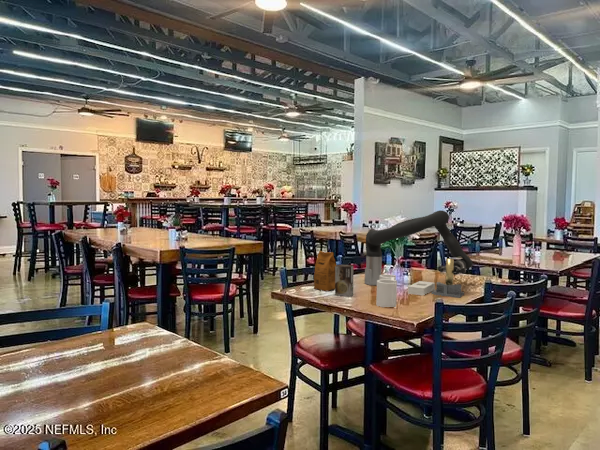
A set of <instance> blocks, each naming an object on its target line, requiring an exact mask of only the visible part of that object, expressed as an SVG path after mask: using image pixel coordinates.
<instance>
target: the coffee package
mask: <svg viewBox="0 0 600 450" xmlns="http://www.w3.org/2000/svg"><path fill="white" fill-rule="evenodd" d="M334 255H335V253H334V252H332V251H331V252H330V251H329V252H328V251H327V252H325V251H322V250H319V252H318V254H317V257H316V262H315V264H314V273H313V274H314V275H313V280H314V281H313V283H314V284H313V289H314V290H319V291H321V290H322V291H323V292H330V291H331V290H332V291H333V290H335V266H337V265H338V264H337V263H336V262H337V261H336V259H335V257H334Z"/></svg>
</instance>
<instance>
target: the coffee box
mask: <svg viewBox="0 0 600 450" xmlns="http://www.w3.org/2000/svg"><path fill="white" fill-rule="evenodd" d="M336 265H337V266H335V289H334V296H339V295H340V297H342V296H344V297H352V296H353V295H354V264H351V265H350V264H336Z"/></svg>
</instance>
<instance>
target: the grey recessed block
mask: <svg viewBox="0 0 600 450" xmlns="http://www.w3.org/2000/svg"><path fill="white" fill-rule="evenodd" d="M434 290H436V283H435V282H432V281H431V282H430V281H424V280H423V281H422V280H419V281H417V282H414V283H413V284H411V285H408V286H407V294H410V295H417V296H423V295H424V296H425V294H426V295H427V293H428V294H430V293H432V291H434Z"/></svg>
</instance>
